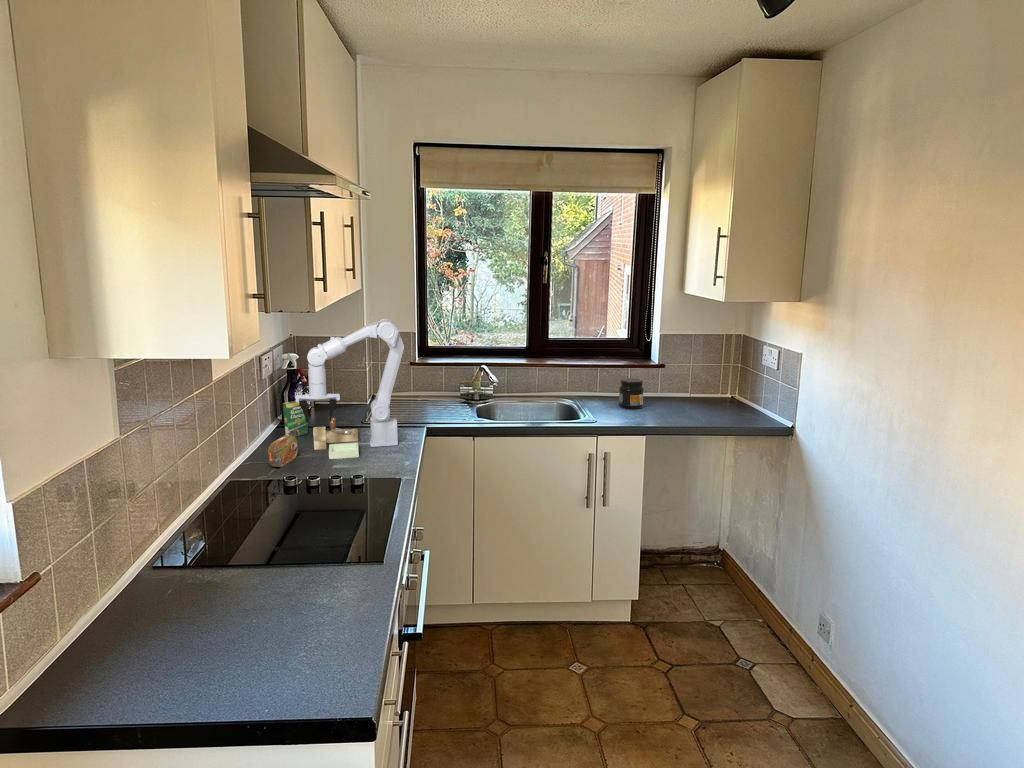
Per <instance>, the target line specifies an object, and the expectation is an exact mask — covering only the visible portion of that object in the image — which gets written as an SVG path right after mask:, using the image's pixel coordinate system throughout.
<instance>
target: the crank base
mask: <svg viewBox="0 0 1024 768" xmlns="http://www.w3.org/2000/svg"><path fill="white" fill-rule="evenodd" d="M350 429H351V434H347V435H344V434H342V433H338V432H333V431H331V429H329V430H326V444H336V443H352V442H359V430H358V428H350Z"/></svg>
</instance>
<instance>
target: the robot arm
mask: <svg viewBox="0 0 1024 768" xmlns="http://www.w3.org/2000/svg"><path fill="white" fill-rule="evenodd" d="M378 337H379V338H380V339H382V341H384V342H385V343H386V345H387V346H388V348H389V350H388V354H387V356H386V357H387V358H386V361H385V365H384V369H383V372H382V376H381V380H380V382H379V387H378V390H377V392H376V395H375V398H374V399H373V400H372V402H371V403H370V410H371V417H370V418H369V419H370V421H369V422H370V439H369V446H370V447H371V448H373V447H374V448H377V447H378V448H379V447H388V446H389V447H391V446H398V445H399V433H398V420H397V418H392V416H391V409H390V404H391V400H392V399H391V398H392V393H393V389H394V387H395V382H396V379H397V376H398V371H399V369H400V366H401V365H400V364H401V361H402V358H403V354H404V350H405V345H404V342H403V338H402V337H401V334H400V331H399V329H398V327H397V326H396V325H395V324H394V322H393V321H392V320H390V319H389V318H382V319H379V321H375V322H374V321H373V322H371V323H369V324H366V325H365V326H363V327H361V328H359V329H358V330H356V331H353V332H351V333H350V334H348V335H346V336H344V337H340V336H336V337H334V336H331V337H330V338H329V339H330V340H327V341H326V342H323V343H322V344H321V343H319V344H317V346H314V347H312V348H310V349H309V351H308V352H307V358H306V359H307V361H308V364H307V367H308V369H307V373H308V375H307V376H308V391H309V392H308V393H307V394H298V395H297V394H296V395H295V401H296V402H299V405H300V407H301V409H302V410H303V413H304V415H305V418H306V422H307V423H309V412H308V402H315V401H317V402H319V401H322V402H323V401H328V405H329V409H328V410H329V416H328V418H329V420H328V422H330V421H331V419H332V418H333V414H334V410H335V407H336V406H337V403H338V402H337V401H340V400H341V396H340V394H341V393H327V375H326V370H327V369H326V368H325V367H326V366H325V365H326V364H325V362H326V361H327V360H332V359H333V358H335V357H338V356H339V355H342V354H344V353H345V352H346V351H347V348H348V347H349V346H351V345H354V344H356V343H358V342H360V341H362V340H364V339H367V338H373V339H378Z"/></svg>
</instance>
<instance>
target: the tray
mask: <svg viewBox="0 0 1024 768" xmlns="http://www.w3.org/2000/svg"><path fill="white" fill-rule="evenodd" d="M328 444H329V445H328V446H329V448H328V459H329V460H334V459H335V460H336V459H339V460H340V459H351V458H352V459H353V458H359V457H360V454H359V453H360V452H359V450H360V449H359V442H342V443H328Z"/></svg>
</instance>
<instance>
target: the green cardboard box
mask: <svg viewBox="0 0 1024 768" xmlns="http://www.w3.org/2000/svg"><path fill="white" fill-rule="evenodd" d="M282 411H283V421H284V422H283V423H284V431H285V432H284V433H285V434H284V436H285V435H294V436H295V437H296V438H297V437H302V436H306V435H309V427H308V426H309V425H308V423H309V422H306V418H305V415H304V413H303V410H302V409H301V407H300V405H299V402H296V400H293V401H287V402H283V403H282Z"/></svg>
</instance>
